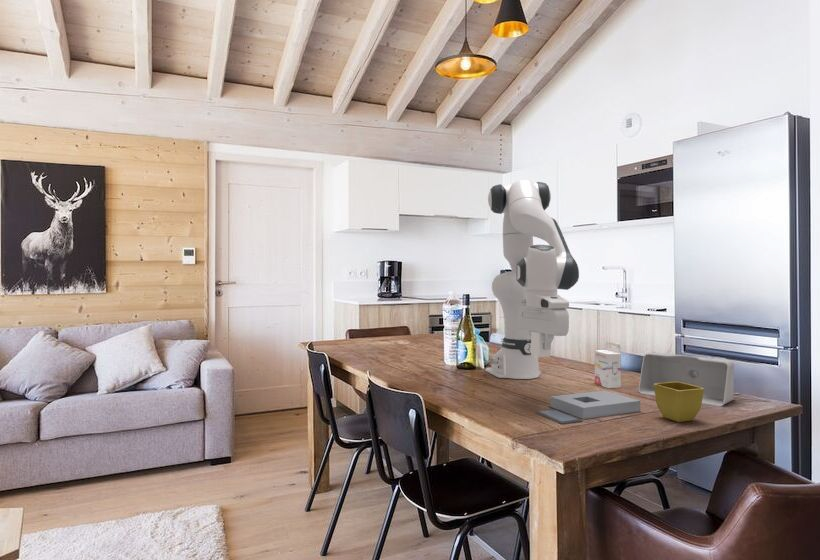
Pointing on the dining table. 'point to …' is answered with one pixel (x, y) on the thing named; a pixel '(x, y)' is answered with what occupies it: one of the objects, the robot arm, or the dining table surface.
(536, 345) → the block
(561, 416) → the phone slab
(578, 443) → the dining table surface
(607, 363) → the ink cartridge box
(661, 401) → the flower pot
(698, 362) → the tank
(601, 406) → the outlet board
